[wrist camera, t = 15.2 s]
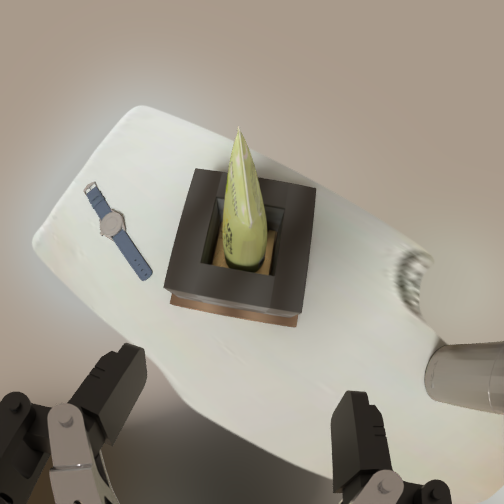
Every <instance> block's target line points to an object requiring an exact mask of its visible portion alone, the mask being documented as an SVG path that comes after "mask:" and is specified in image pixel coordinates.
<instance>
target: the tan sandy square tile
mask: <svg viewBox="0 0 504 504" xmlns="http://www.w3.org/2000/svg"><path fill="white" fill-rule="evenodd" d="M275 232H276V231H273V230H267V245H266V253H265V259H264V262H263V265H262V266H261V268H260V269H259V270H258V271H256V272H255V273H258V274H264V275H269V270H270V263H271V257H272V251H273V245H274V239H275ZM213 265H214V266H219V267H225V268H229V267H228V265H227V263H226V260H225V255H224V248H223V222H222V224H221V228H220V233H219V237H218V242H217V246H216V251H215V255H214V260H213Z"/></svg>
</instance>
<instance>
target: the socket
mask: <svg viewBox="0 0 504 504" xmlns="http://www.w3.org/2000/svg"><path fill="white" fill-rule="evenodd" d="M227 176H228V173H226V172H219V171H212V170H204V169H197V168H195V172H194V175H193V178H192V181H191V185H190V188H189V191H188V195H187V198H186V202H185V205H184V209H183V212H182V216H181V219H180V223H179V227H178V230H177V234H176V238H175V242H174V246H173V249H172V253H171V257H170V262H169V266H168V270H167V274H166V278H165V283H164V287H163V288H165V289H166V290H168V291H170V292H171V293H172V296H171V300H170V304H172V305H176V306H180V307H185V308H189V309H194V310H199V311H204V312H209V313H214V314H219V315H224V316H230V317H235V318H240V319H246V320H252V321H258V322H263V323H270V324H276V325H282V326H289V327H296V325H297V319H298V314H300V313H302V307H303V300H304V293H305V285H306V278H307V270H308V262H309V254H310V245H311V237H312V227H313V218H314V208H315V197H316V188H312V187H307V186H302V185H297V184H292V183H287V182H281V181H276V180H270V179H264V178H258V181H259V186H260V190H261V195H262V199H263V204H264V209H265V214H266V222H267V230H273V231H276V232H275V239H274V245H273V251H272V257H271V263H270V270H269V275H264V274H258V273H253V272H247V271H241V270H236V269H230V268H225V267H219V266H214V265H213V260H214V255H215V251H216V246H217V242H218V237H219V233H220V228H221V224H222V222H223V211H224V201H225V192H226V185H227Z"/></svg>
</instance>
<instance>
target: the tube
mask: <svg viewBox="0 0 504 504" xmlns="http://www.w3.org/2000/svg"><path fill="white" fill-rule="evenodd" d="M266 245H267V222H266V214H265V209H264V204H263V199H262V195H261V190H260V186H259V181H258V177H257V173H256V169H255V166H254V163H253V160H252V157H251V154H250V151H249V148H248V146H247V144H246V141H245V139H244V137H243V135H242V133H241V132H240V127H239V126H238V133H237V136H236V139H235V142H234V145H233V149H232V153H231V158H230V163H229V169H228V176H227V185H226V192H225V201H224V211H223V248H224V255H225V260H226V263H227V265H228V267H229V268H230V269H236V270H241V271H247V272H253V273H255V272H256V271H258V270H259V269H260V268H261V266H262V265H263V262H264V259H265V253H266Z"/></svg>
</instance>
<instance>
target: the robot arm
mask: <svg viewBox="0 0 504 504" xmlns="http://www.w3.org/2000/svg"><path fill="white" fill-rule="evenodd" d="M146 379H147V369H146V359H145V351H144V349H143V348H141V347H138V346H135V345H132V344H129V343H125V344H124V345H123V346H122V348H121V349H120V350H119V351H118V353H116V352H113V351H111V352H109V353H107V354H106V355H104V356H102V357H101V358H100V360H99V361H98V362H97V364H96V365H95V368H93V369H92V370H91V372H90V374H89V375H88V376H87V377H86V379H85V380H84V381H83V383H82V384H81V385H80V387H79V388H78V390H77V391H76V392H75V394H74V395H73V396H72V398H71V399H70V400H69V402H68V403H62V404H58V405H56V406H54V407H53V408H51V407H45V406H41V405H36V404H33V403H31V402H30V400H29V399H28V397H27V396H26V395H25V394H23V393H21V392H11V393H9V394H7V395H6V396H5V397H4V398H3V399H2V401H1V402H0V504H27V501H28V499H29V497H30V495H31V493H32V491H33V488H34V486H35V484H36V482H37V480H38V478H39V476H40V474H41V472H42V470H43V468H44V466H45V464H46V462H47V460H48V458H49V456H50V454H52V460H53V468H51V469H50V480H51V485H52V489H53V494H54V498H55V502H56V504H119V502H118V500H117V498H116V496H115V494H114V492H113V489H112V487H111V484H110V481H109V478H108V474H107V471H106V468H105V465H104V461H103V458H102V454H101V451H100V449H101V447H102V445H103V444H104V443H106V444H108V445H111V446H113V444H114V443H115V441H116V439H117V437H118V435H119V433H120V431H121V429H122V427H123V425H124V423H125V421H126V420H127V418H128V416H129V414H130V412H131V410H132V408H133V406H134V405H135V402H136V401H137V399H138V397H139V395H140V393H141V392H142V390H143V388H144V386H145V383H146ZM425 387H426V390H427V393H428V395H429V396H430V397H431V398H432V399H433V400H435V401H438V402H442V403H447V404H451V405H455V406H459V407H464V408H469V409H474V410H479V411H484V412H489V413H495V414H502V415H504V341H500V342H489V343H476V344H458V345H446V346H443V347H442V348H440V349H439V350H437V351H436V352H435V354H434V355H433V356H432V358H431V360H430V361H429V364H428V366H427V369H426V374H425ZM385 435H386V433H385V428H384V423H383V418H382V415H381V413H380V412H379V410H378V409H377V407H376V406H375V405H369V401H368V396H367V393H366V392H360V391H346V392H345V394H344V396H343V397H342V399H341V401H340V403H339V404H338V406H337V408H336V409H335V411H334V413H333V415H332V419H331V440H332V463H333V493H343V499H342V500H341V501H340V502H339V503H338V504H452V501H451V495H450V490H449V487H448V486H447V484H446V483H445V482H443V481H441V480H431V481H429V482H428V483H426V484H425V485H420V484H414V483H409V482H405V481H403V480H402V478H401V477H400V476H399V475H398V474H397V473H396V472H394V471H393V469H392V466H391V460H390V454H389V448H388V443H387V438H386V437H385Z"/></svg>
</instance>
